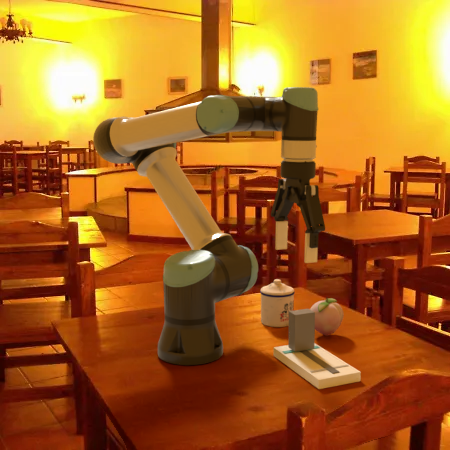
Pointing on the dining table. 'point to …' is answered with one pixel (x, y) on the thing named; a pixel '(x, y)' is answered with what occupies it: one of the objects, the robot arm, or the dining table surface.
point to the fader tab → (301, 329)
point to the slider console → (318, 366)
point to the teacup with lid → (276, 304)
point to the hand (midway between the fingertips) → (295, 255)
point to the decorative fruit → (327, 316)
